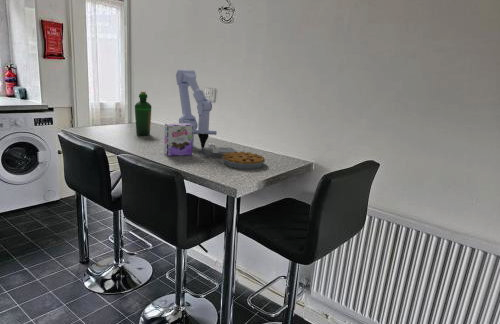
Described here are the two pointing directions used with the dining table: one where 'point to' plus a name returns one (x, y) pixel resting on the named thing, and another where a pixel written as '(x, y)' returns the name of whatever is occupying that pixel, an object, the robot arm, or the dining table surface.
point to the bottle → (143, 115)
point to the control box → (210, 154)
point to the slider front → (215, 149)
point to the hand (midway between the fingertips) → (202, 147)
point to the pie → (243, 160)
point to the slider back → (211, 145)
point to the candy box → (178, 139)
